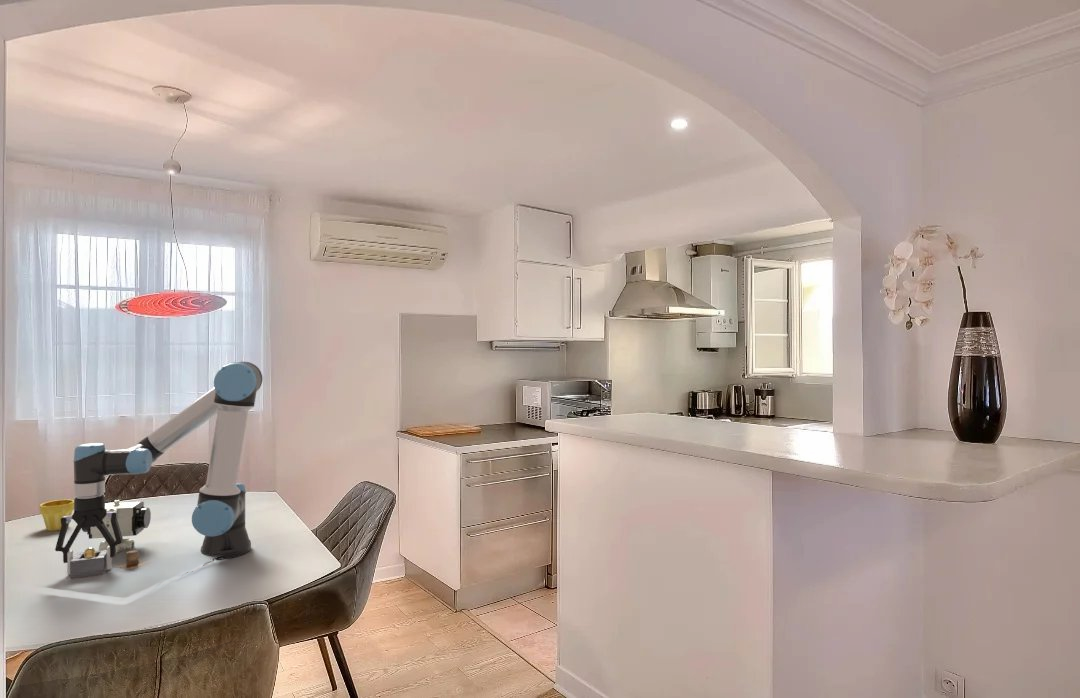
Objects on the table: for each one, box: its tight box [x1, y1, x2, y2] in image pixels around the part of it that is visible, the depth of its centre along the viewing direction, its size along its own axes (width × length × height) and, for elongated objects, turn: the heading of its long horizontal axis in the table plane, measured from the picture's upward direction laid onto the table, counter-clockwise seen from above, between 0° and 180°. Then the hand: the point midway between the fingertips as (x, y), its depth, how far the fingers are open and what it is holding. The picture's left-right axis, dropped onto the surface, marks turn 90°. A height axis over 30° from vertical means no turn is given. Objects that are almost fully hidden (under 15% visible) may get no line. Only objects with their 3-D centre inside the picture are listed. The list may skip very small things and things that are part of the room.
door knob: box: [84, 547, 96, 558], centre depth 184 cm, size 6×6×9 cm
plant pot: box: [39, 499, 74, 532], centre depth 232 cm, size 10×10×10 cm
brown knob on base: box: [115, 549, 150, 570], centre depth 190 cm, size 6×6×6 cm
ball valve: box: [81, 499, 152, 554], centre depth 204 cm, size 18×8×18 cm, turn 105°
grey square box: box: [69, 550, 107, 580], centre depth 184 cm, size 8×8×5 cm
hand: (89, 570), depth 184 cm, fingers open, 9 cm apart
